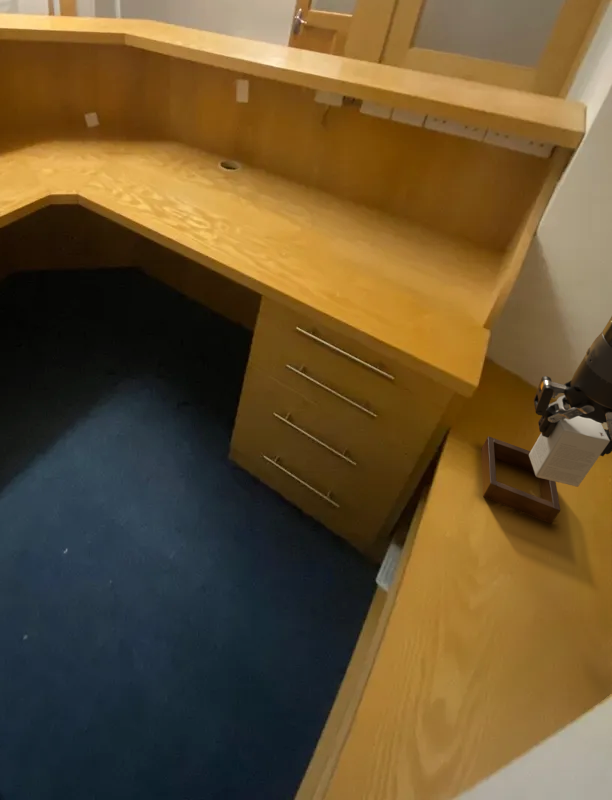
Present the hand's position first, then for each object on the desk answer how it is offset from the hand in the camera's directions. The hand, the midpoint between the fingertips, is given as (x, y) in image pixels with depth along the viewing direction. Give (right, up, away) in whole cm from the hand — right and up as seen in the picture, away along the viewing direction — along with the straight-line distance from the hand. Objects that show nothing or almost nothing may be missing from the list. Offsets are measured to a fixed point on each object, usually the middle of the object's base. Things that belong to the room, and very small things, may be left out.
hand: (570, 441), depth 79 cm
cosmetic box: (0, -7, +4) cm, 8 cm away
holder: (+3, -17, +17) cm, 25 cm away
